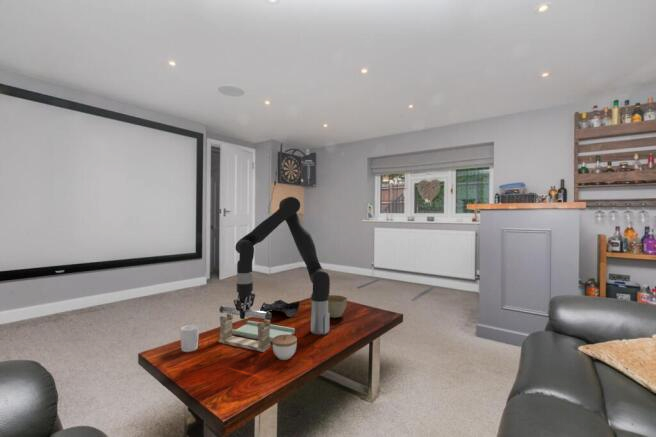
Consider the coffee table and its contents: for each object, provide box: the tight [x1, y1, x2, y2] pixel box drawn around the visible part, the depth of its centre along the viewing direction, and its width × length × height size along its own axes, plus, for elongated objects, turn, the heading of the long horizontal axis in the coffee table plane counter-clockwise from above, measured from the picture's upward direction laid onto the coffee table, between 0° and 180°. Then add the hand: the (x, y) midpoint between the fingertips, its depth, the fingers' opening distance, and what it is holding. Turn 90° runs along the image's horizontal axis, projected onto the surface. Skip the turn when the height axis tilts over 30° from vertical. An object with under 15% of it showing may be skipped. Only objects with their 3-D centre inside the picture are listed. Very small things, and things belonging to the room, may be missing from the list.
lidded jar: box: [271, 334, 298, 361], centre depth 131 cm, size 11×11×9 cm
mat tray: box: [232, 320, 296, 343], centre depth 157 cm, size 30×15×2 cm, turn 67°
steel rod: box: [219, 305, 273, 321], centre depth 143 cm, size 28×3×3 cm, turn 68°
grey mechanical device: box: [259, 299, 300, 318], centre depth 187 cm, size 18×20×9 cm
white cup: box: [179, 324, 200, 353], centre depth 137 cm, size 8×8×10 cm
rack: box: [218, 313, 272, 353], centre depth 143 cm, size 26×6×12 cm, turn 67°
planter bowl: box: [328, 294, 348, 319], centre depth 186 cm, size 16×16×11 cm
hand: (244, 317), depth 143 cm, fingers closed on steel rod, 3 cm apart
